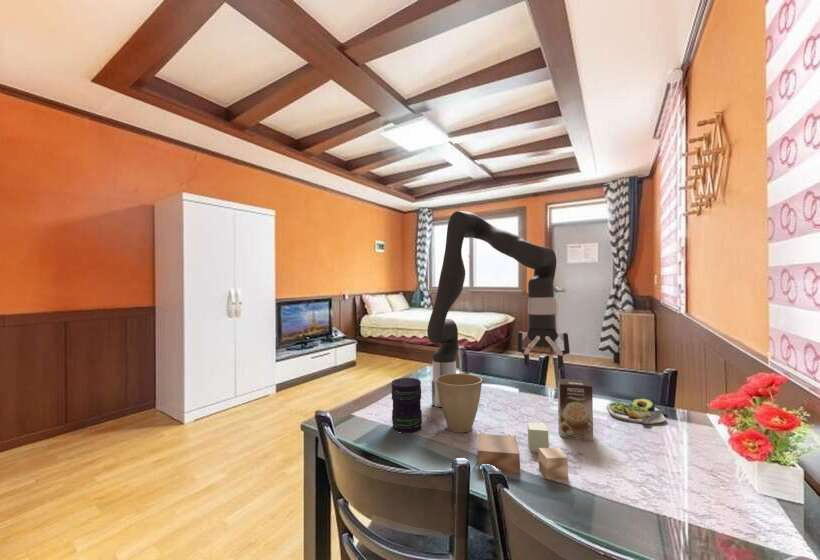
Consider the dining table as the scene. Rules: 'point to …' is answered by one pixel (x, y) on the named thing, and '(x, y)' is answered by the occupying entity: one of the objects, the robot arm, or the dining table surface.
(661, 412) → the salad plate
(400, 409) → the storage jar
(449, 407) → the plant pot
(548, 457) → the maple block
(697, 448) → the dining table surface
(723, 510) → the dining table surface
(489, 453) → the walnut block
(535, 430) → the sage block
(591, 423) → the coffee box
